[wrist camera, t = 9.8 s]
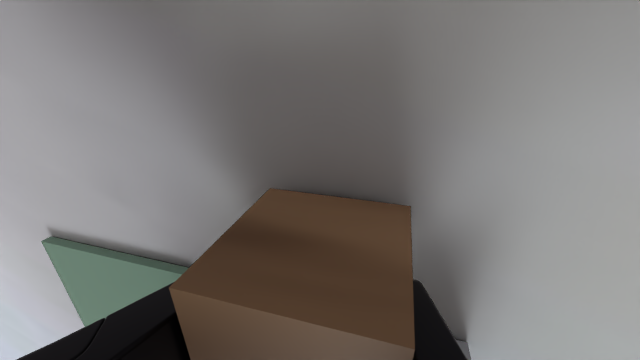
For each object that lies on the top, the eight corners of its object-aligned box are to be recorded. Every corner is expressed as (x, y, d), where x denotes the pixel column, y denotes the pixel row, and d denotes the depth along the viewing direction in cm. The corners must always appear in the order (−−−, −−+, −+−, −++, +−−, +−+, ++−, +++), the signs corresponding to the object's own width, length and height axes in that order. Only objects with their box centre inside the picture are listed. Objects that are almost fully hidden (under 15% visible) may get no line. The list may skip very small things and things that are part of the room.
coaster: (220, 386, 15) (216, 394, 14) (104, 346, 17) (97, 352, 16) (191, 268, 11) (184, 275, 11) (50, 236, 13) (41, 241, 13)
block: (394, 314, 9) (386, 485, 5) (278, 288, 10) (208, 417, 6) (410, 206, 7) (415, 348, 4) (270, 188, 8) (169, 287, 5)
